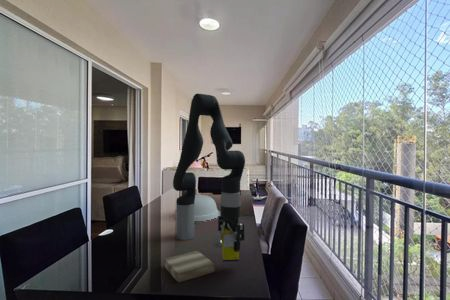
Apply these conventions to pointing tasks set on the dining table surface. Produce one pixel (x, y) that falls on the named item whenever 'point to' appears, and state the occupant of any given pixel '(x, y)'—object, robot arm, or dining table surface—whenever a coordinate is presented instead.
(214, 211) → the dome cover
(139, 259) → the dining table surface
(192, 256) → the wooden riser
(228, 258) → the supplement box
